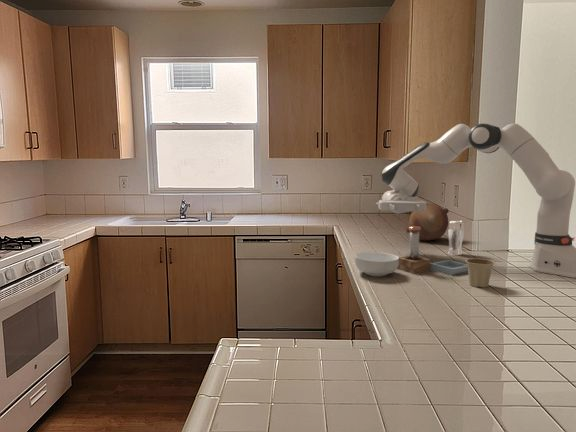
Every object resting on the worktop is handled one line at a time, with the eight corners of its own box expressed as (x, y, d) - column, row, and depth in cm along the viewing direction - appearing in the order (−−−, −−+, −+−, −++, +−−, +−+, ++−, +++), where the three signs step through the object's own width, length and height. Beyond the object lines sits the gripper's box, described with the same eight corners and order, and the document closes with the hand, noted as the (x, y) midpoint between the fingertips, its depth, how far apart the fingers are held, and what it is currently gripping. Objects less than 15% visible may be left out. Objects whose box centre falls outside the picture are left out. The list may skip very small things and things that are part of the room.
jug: (447, 244, 237) (434, 243, 267) (455, 206, 237) (442, 209, 267) (406, 236, 239) (399, 235, 269) (414, 198, 239) (406, 202, 269)
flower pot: (469, 280, 173) (470, 256, 172) (496, 284, 167) (498, 260, 166) (460, 285, 166) (461, 261, 164) (488, 290, 160) (489, 265, 159)
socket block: (429, 270, 187) (430, 259, 186) (413, 273, 182) (414, 262, 182) (412, 265, 195) (413, 255, 194) (396, 268, 190) (397, 257, 189)
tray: (471, 271, 185) (471, 265, 184) (452, 275, 179) (452, 269, 179) (448, 265, 194) (448, 259, 194) (429, 269, 188) (429, 263, 188)
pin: (421, 270, 188) (423, 227, 185) (413, 271, 185) (414, 228, 183) (413, 267, 192) (414, 225, 189) (404, 269, 189) (406, 226, 187)
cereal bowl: (399, 281, 172) (399, 262, 171) (353, 278, 176) (353, 260, 175) (398, 269, 189) (398, 252, 188) (356, 267, 192) (356, 250, 191)
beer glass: (452, 256, 212) (454, 223, 210) (443, 252, 218) (445, 220, 216) (466, 255, 214) (467, 222, 211) (456, 252, 220) (458, 220, 218)
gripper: (375, 196, 210) (382, 200, 196) (420, 196, 210) (430, 200, 197) (374, 210, 211) (381, 215, 197) (419, 210, 212) (429, 215, 198)
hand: (406, 208), depth 197 cm, fingers open, 8 cm apart
